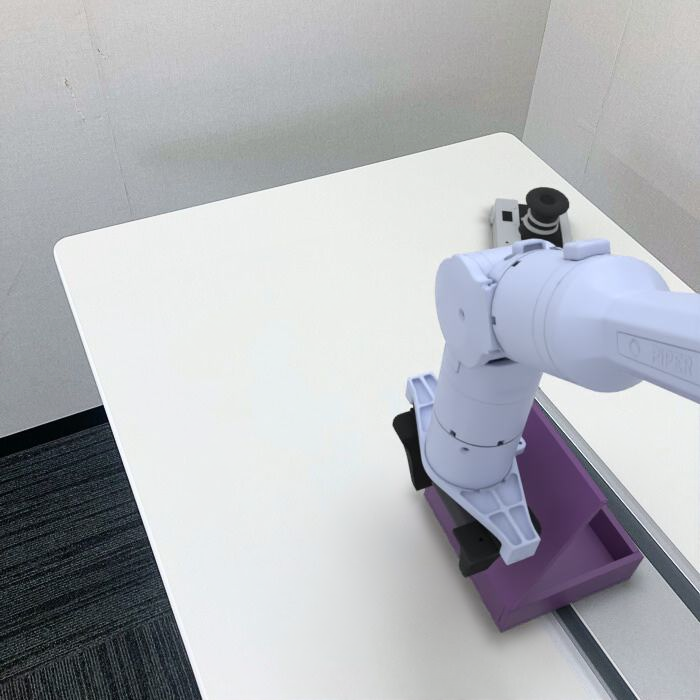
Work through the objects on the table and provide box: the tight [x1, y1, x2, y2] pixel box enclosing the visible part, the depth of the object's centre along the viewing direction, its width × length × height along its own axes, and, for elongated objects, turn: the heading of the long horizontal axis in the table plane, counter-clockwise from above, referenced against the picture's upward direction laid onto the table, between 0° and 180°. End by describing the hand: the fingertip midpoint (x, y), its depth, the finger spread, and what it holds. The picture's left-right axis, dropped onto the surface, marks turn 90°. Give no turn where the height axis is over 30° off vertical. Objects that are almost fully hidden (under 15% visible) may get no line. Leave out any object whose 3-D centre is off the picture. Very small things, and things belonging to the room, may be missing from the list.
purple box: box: [423, 486, 645, 633], centre depth 62 cm, size 12×13×4 cm
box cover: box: [432, 400, 609, 611], centre depth 54 cm, size 13×13×4 cm
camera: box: [489, 186, 573, 249], centre depth 87 cm, size 15×7×10 cm
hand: (449, 524), depth 56 cm, fingers open, 7 cm apart
